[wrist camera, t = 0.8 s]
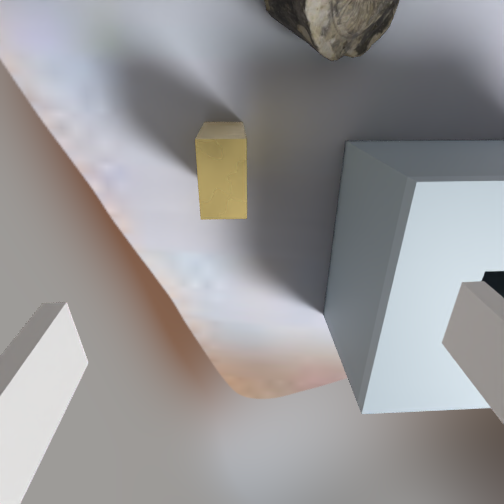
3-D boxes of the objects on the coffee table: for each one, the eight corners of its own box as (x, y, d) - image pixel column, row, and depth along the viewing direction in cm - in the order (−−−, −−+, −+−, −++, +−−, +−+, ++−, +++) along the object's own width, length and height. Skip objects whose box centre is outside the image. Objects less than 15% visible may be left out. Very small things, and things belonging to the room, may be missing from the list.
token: (204, 121, 26) (194, 139, 19) (242, 121, 27) (246, 138, 20) (208, 183, 29) (200, 219, 22) (243, 183, 29) (247, 218, 22)
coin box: (345, 140, 28) (416, 182, 17) (530, 139, 29) (707, 178, 18) (323, 314, 36) (361, 414, 26) (466, 309, 37) (561, 404, 26)
